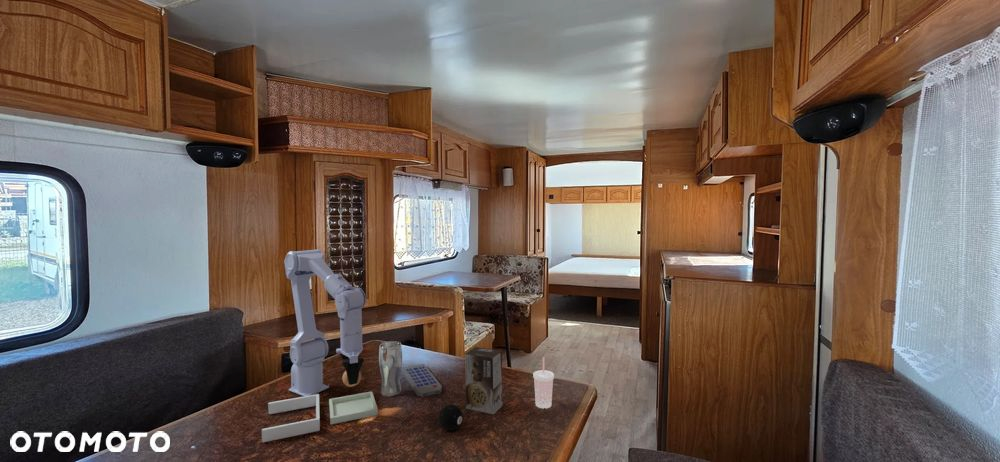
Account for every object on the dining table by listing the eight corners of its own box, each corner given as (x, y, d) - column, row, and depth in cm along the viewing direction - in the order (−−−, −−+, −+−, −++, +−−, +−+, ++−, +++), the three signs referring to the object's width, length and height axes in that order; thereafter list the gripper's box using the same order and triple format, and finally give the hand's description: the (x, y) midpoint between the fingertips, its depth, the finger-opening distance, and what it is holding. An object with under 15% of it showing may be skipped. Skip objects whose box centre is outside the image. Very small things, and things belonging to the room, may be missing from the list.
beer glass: (396, 398, 120) (395, 349, 120) (375, 396, 122) (374, 347, 121) (406, 388, 127) (405, 341, 127) (386, 386, 129) (385, 340, 128)
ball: (338, 387, 112) (338, 369, 112) (353, 381, 117) (353, 364, 116) (350, 391, 110) (350, 372, 110) (365, 384, 114) (364, 367, 114)
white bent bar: (262, 442, 97) (261, 430, 97) (268, 413, 112) (268, 402, 112) (319, 430, 103) (319, 419, 103) (319, 403, 117) (319, 393, 117)
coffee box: (503, 405, 116) (503, 350, 115) (493, 415, 110) (493, 357, 109) (475, 399, 120) (475, 345, 119) (464, 408, 114) (464, 352, 113)
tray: (330, 424, 106) (330, 418, 106) (329, 404, 116) (329, 399, 116) (377, 414, 111) (377, 408, 111) (372, 396, 121) (372, 391, 121)
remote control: (424, 369, 145) (424, 362, 145) (443, 393, 124) (443, 386, 124) (401, 372, 141) (401, 366, 141) (418, 398, 121) (418, 391, 121)
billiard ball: (452, 437, 99) (452, 413, 99) (434, 430, 103) (434, 407, 102) (467, 426, 104) (467, 404, 104) (449, 420, 108) (449, 398, 107)
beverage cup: (558, 404, 116) (558, 356, 116) (545, 412, 112) (545, 362, 111) (541, 397, 121) (541, 351, 120) (528, 404, 116) (528, 357, 115)
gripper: (334, 327, 117) (335, 373, 118) (337, 341, 104) (338, 393, 105) (360, 324, 120) (361, 369, 121) (365, 338, 107) (366, 387, 108)
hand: (352, 379), depth 113 cm, fingers closed on ball, 5 cm apart
